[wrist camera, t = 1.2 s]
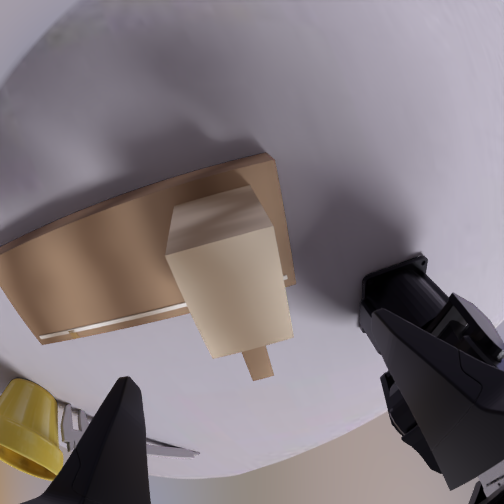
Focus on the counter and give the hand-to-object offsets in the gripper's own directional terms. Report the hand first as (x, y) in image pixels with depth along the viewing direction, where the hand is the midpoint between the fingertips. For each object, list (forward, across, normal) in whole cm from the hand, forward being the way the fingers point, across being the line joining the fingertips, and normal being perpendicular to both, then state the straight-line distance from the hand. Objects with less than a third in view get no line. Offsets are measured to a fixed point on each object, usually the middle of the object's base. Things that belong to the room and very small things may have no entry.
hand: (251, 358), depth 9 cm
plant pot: (+10, +28, +13) cm, 32 cm away
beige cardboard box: (+8, 0, +1) cm, 8 cm away
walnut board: (+10, +7, 0) cm, 12 cm away
